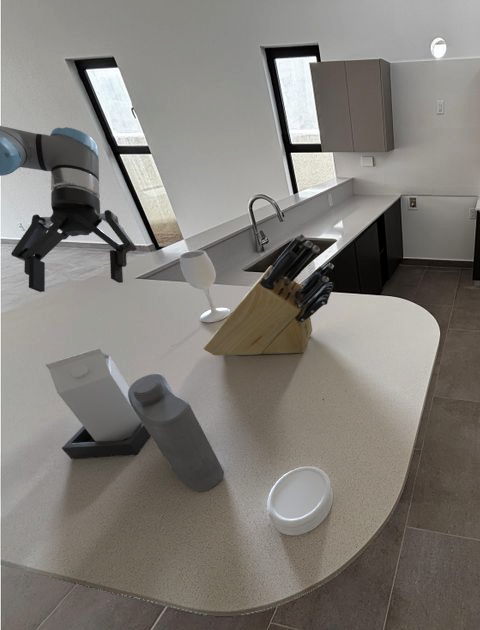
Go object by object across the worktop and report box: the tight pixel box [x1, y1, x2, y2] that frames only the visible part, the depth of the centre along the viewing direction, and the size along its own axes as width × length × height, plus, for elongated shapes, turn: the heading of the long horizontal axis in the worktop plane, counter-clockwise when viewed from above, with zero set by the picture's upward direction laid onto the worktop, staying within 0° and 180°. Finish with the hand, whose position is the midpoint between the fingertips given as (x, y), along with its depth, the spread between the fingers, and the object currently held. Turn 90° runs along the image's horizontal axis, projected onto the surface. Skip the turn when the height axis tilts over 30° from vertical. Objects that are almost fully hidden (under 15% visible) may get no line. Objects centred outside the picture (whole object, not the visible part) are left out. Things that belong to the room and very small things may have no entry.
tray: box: [61, 423, 152, 460], centre depth 68 cm, size 12×12×3 cm
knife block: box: [203, 233, 335, 356], centre depth 86 cm, size 11×35×31 cm, turn 93°
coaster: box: [266, 465, 334, 537], centre depth 55 cm, size 10×10×4 cm
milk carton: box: [45, 347, 142, 442], centre depth 63 cm, size 7×7×19 cm
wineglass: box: [178, 249, 231, 323], centre depth 102 cm, size 9×9×21 cm
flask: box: [128, 373, 225, 492], centre depth 57 cm, size 15×6×20 cm, turn 52°
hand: (78, 285), depth 69 cm, fingers open, 13 cm apart
